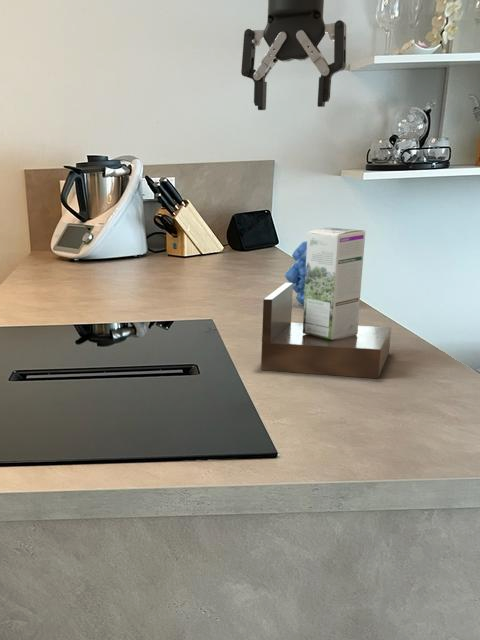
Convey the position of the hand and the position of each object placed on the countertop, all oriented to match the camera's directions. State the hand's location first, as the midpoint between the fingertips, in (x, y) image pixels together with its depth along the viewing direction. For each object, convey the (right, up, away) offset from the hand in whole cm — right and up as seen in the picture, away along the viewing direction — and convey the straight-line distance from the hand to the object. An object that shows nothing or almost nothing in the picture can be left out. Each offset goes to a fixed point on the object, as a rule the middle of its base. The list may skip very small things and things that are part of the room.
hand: (290, 108), depth 113 cm
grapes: (+11, -20, +41) cm, 46 cm away
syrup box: (+6, -33, 0) cm, 33 cm away
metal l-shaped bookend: (+6, -36, +2) cm, 37 cm away
